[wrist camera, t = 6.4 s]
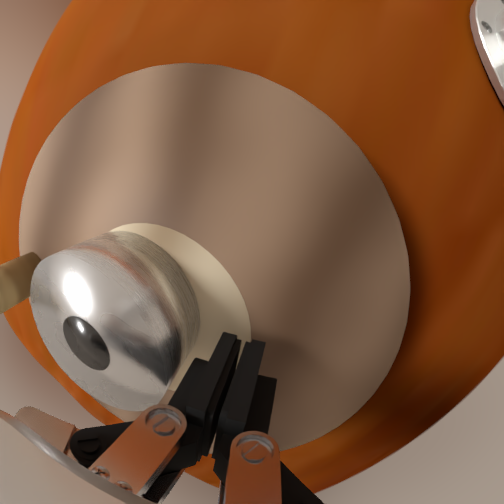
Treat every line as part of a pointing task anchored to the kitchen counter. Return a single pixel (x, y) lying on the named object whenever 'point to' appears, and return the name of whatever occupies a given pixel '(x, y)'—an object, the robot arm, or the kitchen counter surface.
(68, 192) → the disc
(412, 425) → the kitchen counter surface
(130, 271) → the cover
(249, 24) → the kitchen counter surface
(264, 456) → the robot arm
